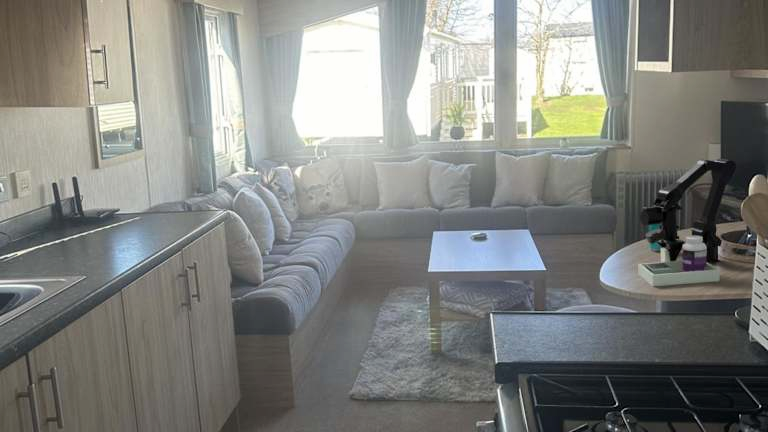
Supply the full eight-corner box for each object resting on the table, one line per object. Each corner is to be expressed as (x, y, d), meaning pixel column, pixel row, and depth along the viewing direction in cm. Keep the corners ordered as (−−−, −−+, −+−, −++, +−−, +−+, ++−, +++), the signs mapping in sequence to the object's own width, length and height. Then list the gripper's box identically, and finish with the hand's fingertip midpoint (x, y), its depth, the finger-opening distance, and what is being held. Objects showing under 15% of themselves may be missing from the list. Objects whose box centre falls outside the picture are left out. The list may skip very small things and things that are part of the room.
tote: (701, 269, 278) (701, 258, 277) (719, 281, 262) (719, 269, 262) (638, 274, 279) (638, 264, 278) (652, 286, 263) (652, 275, 262)
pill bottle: (678, 274, 274) (677, 236, 272) (699, 272, 275) (699, 233, 272) (689, 280, 266) (688, 240, 264) (711, 278, 267) (710, 238, 264)
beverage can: (665, 251, 307) (665, 215, 305) (651, 251, 309) (650, 216, 306) (663, 248, 313) (662, 212, 310) (649, 248, 314) (648, 213, 311)
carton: (674, 264, 288) (673, 245, 286) (679, 267, 283) (678, 248, 281) (660, 265, 288) (660, 246, 286) (665, 268, 283) (665, 249, 282)
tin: (664, 276, 274) (664, 262, 273) (671, 281, 268) (671, 267, 267) (646, 277, 274) (645, 264, 274) (652, 282, 268) (652, 269, 267)
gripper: (639, 219, 292) (640, 258, 294) (655, 229, 273) (656, 270, 276) (668, 217, 291) (669, 256, 294) (686, 226, 273) (687, 268, 276)
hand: (669, 262), depth 285 cm, fingers closed on carton, 5 cm apart
